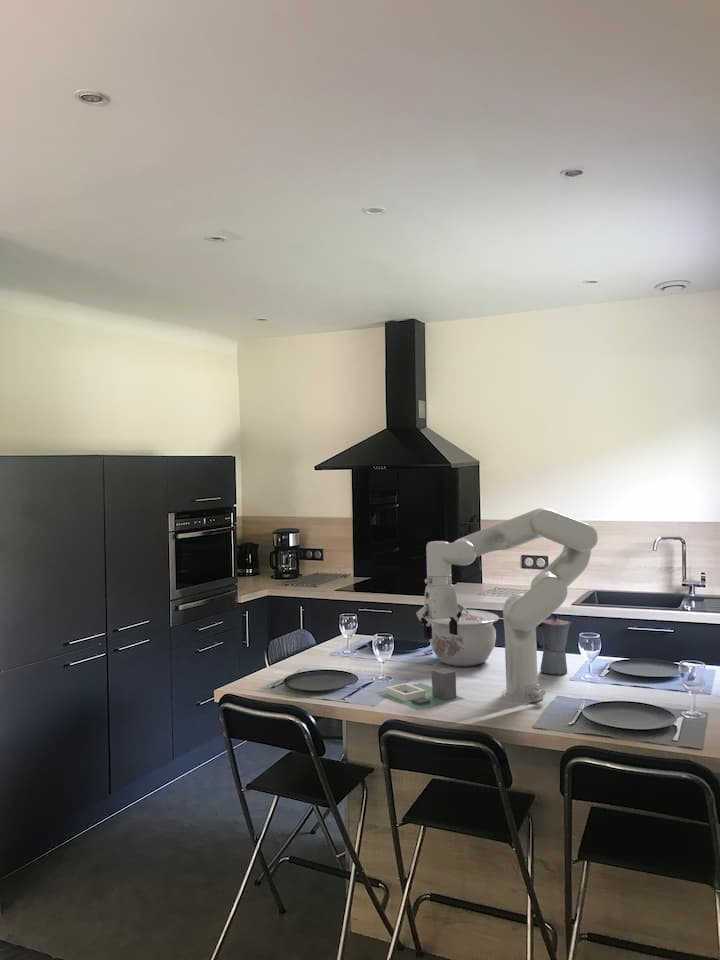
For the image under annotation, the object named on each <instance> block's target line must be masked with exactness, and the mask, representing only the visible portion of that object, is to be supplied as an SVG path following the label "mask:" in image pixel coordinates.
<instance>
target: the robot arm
mask: <svg viewBox="0 0 720 960" xmlns="http://www.w3.org/2000/svg"><path fill="white" fill-rule="evenodd" d="M598 537H599V536H598V533H597V530H596V529H595V528H594V527H593V526H592V525H591V524H589V523H586V522H583V521H581V520H578V519H575V518H572V517H570V516H567V515H564V514H562V513H560V512H558V511H555V510H553V509H551V508H546V507H540V508H536V509H533V510H531V511H528V512H526V513H523V514H521V515H518V516H516V517H513V518H510V519H507V520H505V521H502V522H500V523H497V524H493V525H492V526H490V527H487V528H483V529H481V530H478V531H476V532H472V533H470V534H468V535H465V536H462V537H460V538H458V539H456V540H454V541H453V542H448V541H446V540H445V541H444V540H434V541H428V542H427V544H426V547H425V548H426V578H425V579H424V583H425V584H426V586H425V590H424V599H423V607H421V608H420V609H419V610H418V611H416V612H415V613H416V617H417V618H418V621H419V622H420V623H421V625H422V626H423V636H424V638H425V639H428V640H429V639H432V626H431V625H432V624H431V623H432V621H433V619H435V620H438V619H445V618H450V620H451V621H449V633H450V634H453V635H457V622H458V621H459V618H460V616H461V613H462V611H463V607H464V606H463V605H461V604H459V603H458V597H457V593H456V588H455V585H454V584H452V581H453V580H452V565H455V566H469V565H471V564H472V563H474V561H475V560H476V559H477V557H480V556H482V555H485V554H488V553H492V552H495V551H506V550H510V549H511V550H512V549H514V548H516V547H520V546H522V545H524V544H527V543H529V542H532V541H534V540H538V539H541V538H545V539H547V540H549V541H552V542H554V543H557V544H558V545H559V544H560V545H561V546H563V548H562V551H561V552H560V554H559V555H558V556H557V557H556V558H555V559H554V560H553V561H552V562H551V563H550V564H549V565H547V566H546V567H545V568H544V569H543V570H542V571H540V572H539V573H538V574H536V575H535V576H534V577H533V579H532V580H531V582H530V588H529V590H527V591H526V592H525V593H524V594H522V593H515V594H513V595H510V596H509V597H508V598H507V599H506V600H505V602H504V603H503V608H502V617H503V626H504V628H503V629H504V653H505V654H504V657H505V686H506V687H505V689H504V690H502V691H501V695H502V696H504V697H506V698H509V699H513V700H517V699H518V700H524V701H525V700H526V701H527V700H535V701H533V703H534V702H535V703H536V702H539V701H542V699H543V698H544V696H546V694H547V691H546V690H544V689H541V684H540V683H538V659H537V658H538V654H537V651H538V650H537V649H538V648H537V642H536V633H537V627H539V626H538V625H539V624H540V623H542V622H543V621H544V620H547V619H548V618H549V617H550V616H551V615H553V614H554V612H556V610H558V609H559V608H560V607H561V606H562V604H564V602H565V601H566V599H567V597H568V588H569V586H570V585H572V584H573V583H574V581H576V580H577V579H578V578H579V577H580V576H581V574H583V572H584V571H585V570H586V568H587V567H588V565H589V562H590V558H591V555H592V554H591V553H592V549H594V548H595V547H596V546H597V543H598V540H599V538H598Z"/></svg>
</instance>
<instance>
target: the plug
mask: <svg viewBox="0 0 720 960" xmlns="http://www.w3.org/2000/svg"><path fill="white" fill-rule="evenodd" d="M456 672H457V671H454V670H452V669H448V668H444V667H441V668H435V669H432V670H431V687H432V696H433V697H436V698H439V699H442V700H444V701H446V700H450V699H454V698H456V695H457V682H456V680H457V679H456V678H457V673H456Z"/></svg>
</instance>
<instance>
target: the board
mask: <svg viewBox="0 0 720 960" xmlns="http://www.w3.org/2000/svg"><path fill="white" fill-rule="evenodd" d="M375 694H377V695H379V696H382V697H383V698H386V699H389V700H392V701H394V702H397V703H399V704H402V705H404V706H407V707H409V708H411V709H415V710H418V711H420V710H424V709H427V708H432V707H436V706H441V705H444V704H449V703H453V702H456V701H457V702H458V701H461V700H465V698H466V697H465V698H464V697H462V696H459V695H457V694H456V698H454V699H450V700H446V701H444V700H442V699H439V698H436V697H433V696H432V685H428V684H424V683H422V682H420V683H419V682H418V683H415V684H410V683H407V682H404V683H401V684H400V683H399V684H396V685H391V686H386V687H385V690H383V691H378V692H375Z"/></svg>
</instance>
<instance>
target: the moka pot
mask: <svg viewBox="0 0 720 960" xmlns="http://www.w3.org/2000/svg"><path fill="white" fill-rule="evenodd" d="M552 616H553V618H550V619H545V620H544V621H543V622H542V623H540V624H539V625H538V626H537V627H538V628H541V633H542V643H543V645H540V643H539V639H538V634H537V632H536V642H537V647H536V648H537V649H543V652H542V656H541V663H540V671H541V672H542V673H544V674H548V675H549V674H550V675H566V674H568V666H567V655H566V653H567V652H566V651H565V650H566V645H567V642H568V635H569V628H570V626H571V625H572V623H573V622H571V621H568V620H562V619H560V618H559V619H558V614H556V613H553V614H552Z"/></svg>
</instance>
